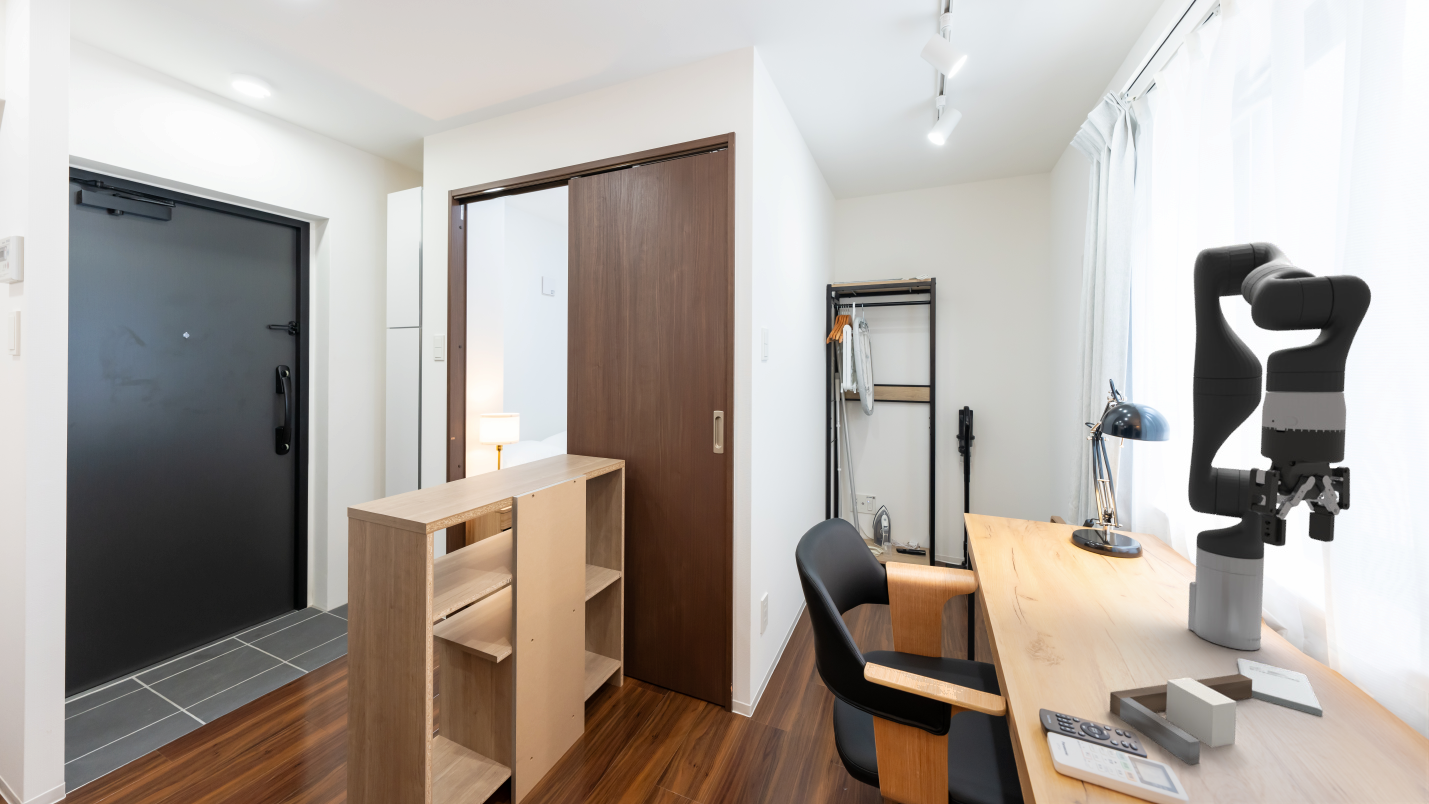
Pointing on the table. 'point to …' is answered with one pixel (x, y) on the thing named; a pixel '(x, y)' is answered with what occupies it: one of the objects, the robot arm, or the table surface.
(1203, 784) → the table surface
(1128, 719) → the guide fence
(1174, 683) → the block
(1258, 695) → the external hard drive
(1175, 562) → the table surface
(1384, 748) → the table surface
